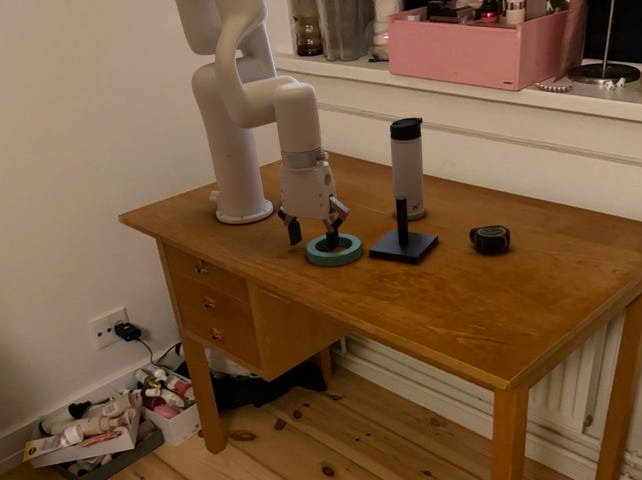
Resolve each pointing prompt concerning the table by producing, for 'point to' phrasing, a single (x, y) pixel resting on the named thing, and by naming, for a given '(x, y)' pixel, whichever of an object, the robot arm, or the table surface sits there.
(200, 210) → the table surface
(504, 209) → the table surface
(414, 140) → the travel mug
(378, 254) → the stand
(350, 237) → the bangle
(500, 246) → the tape measure
